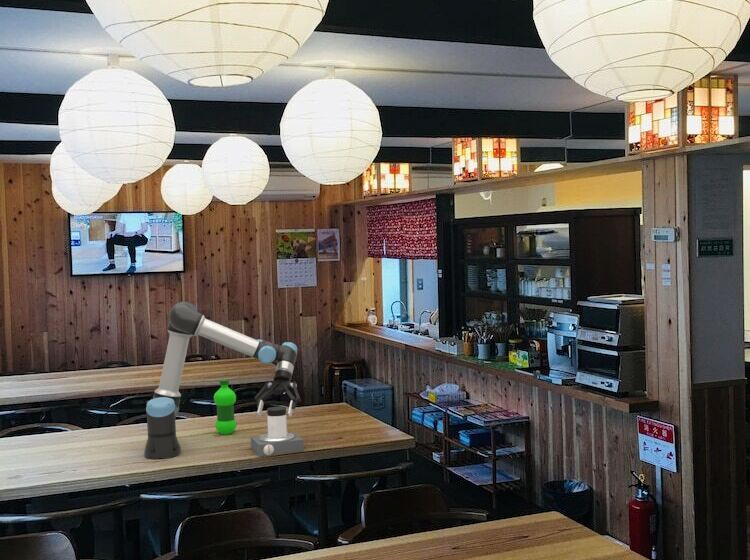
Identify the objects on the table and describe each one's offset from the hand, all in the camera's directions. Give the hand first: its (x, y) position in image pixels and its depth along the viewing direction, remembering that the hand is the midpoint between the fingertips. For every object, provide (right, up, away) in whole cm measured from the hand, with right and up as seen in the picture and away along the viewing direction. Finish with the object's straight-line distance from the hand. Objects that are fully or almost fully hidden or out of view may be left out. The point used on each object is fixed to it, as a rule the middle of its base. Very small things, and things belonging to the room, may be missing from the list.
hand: (274, 414), depth 345 cm
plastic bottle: (-27, -15, +36) cm, 48 cm away
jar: (+1, -10, +3) cm, 10 cm away
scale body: (+1, -15, +3) cm, 16 cm away
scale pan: (+1, -10, +3) cm, 11 cm away
